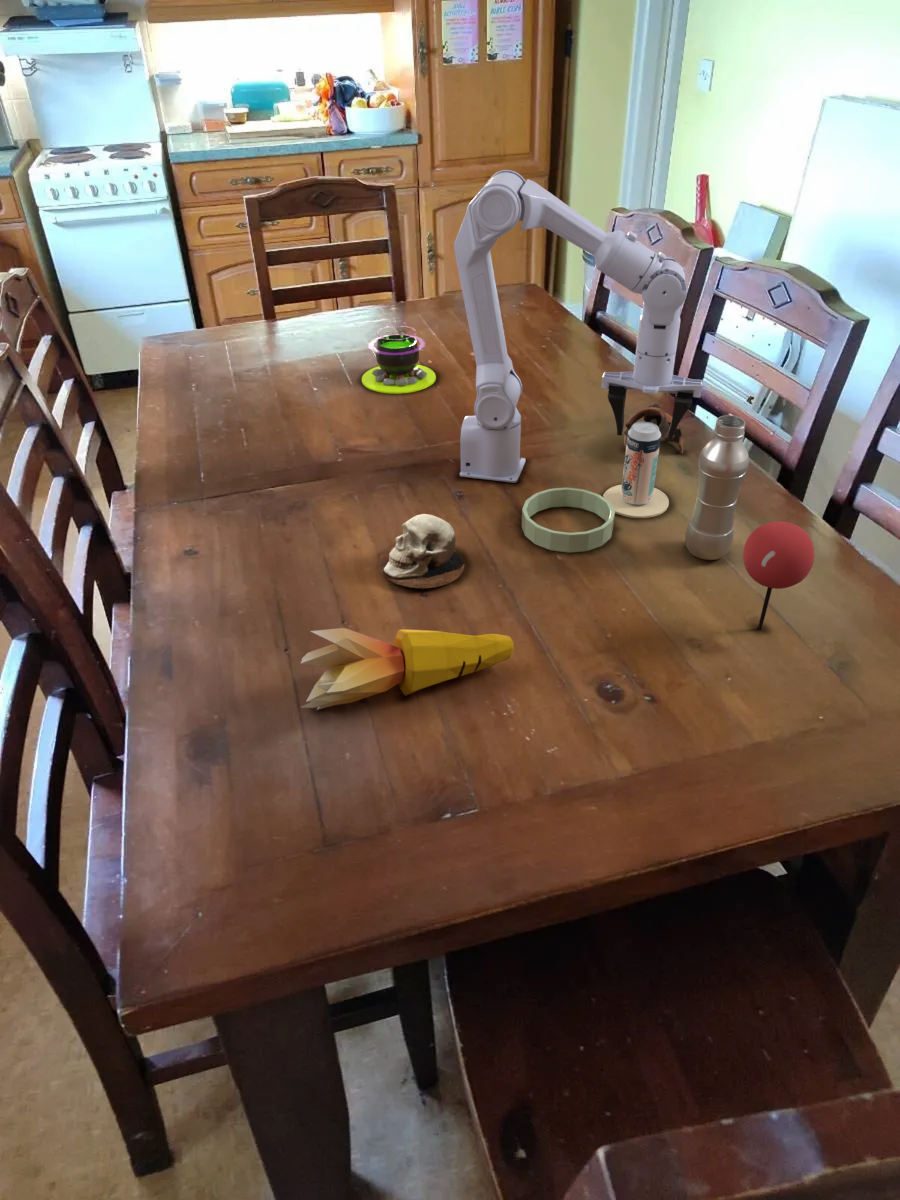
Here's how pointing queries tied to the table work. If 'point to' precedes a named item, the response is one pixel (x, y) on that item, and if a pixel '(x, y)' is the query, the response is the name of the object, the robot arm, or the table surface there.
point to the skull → (422, 554)
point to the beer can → (640, 463)
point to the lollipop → (778, 557)
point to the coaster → (637, 511)
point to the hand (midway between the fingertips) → (645, 435)
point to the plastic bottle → (718, 490)
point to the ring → (565, 539)
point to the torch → (397, 662)
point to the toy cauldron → (398, 365)
